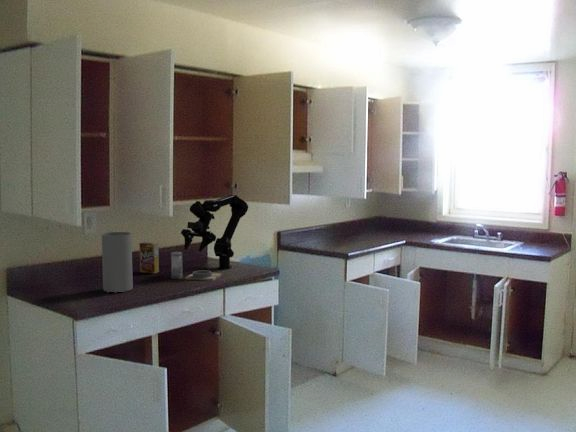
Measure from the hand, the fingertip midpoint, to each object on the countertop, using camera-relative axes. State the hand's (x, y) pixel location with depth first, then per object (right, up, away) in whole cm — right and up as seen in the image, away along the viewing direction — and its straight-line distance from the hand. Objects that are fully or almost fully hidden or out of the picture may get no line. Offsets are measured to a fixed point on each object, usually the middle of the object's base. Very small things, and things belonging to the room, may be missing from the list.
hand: (192, 250), depth 287 cm
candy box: (-23, -12, +10) cm, 28 cm away
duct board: (+6, -13, -1) cm, 14 cm away
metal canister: (-7, -13, -4) cm, 15 cm away
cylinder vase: (-28, -16, -29) cm, 44 cm away
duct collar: (+6, -13, -4) cm, 15 cm away
